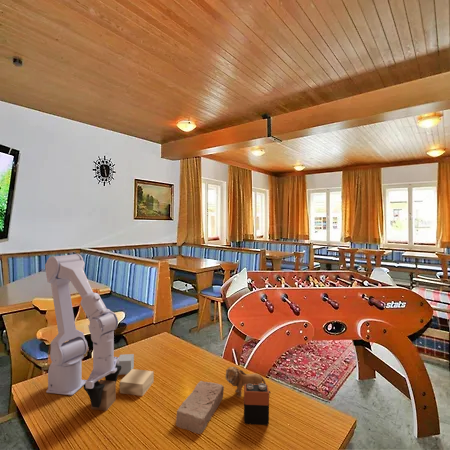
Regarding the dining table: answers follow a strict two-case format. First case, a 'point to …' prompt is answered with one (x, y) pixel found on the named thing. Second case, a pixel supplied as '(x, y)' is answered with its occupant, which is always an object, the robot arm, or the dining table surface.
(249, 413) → the battery
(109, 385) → the walnut block
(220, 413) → the dining table surface
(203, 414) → the brick
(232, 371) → the lion figurine
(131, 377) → the base block
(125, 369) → the slate block
